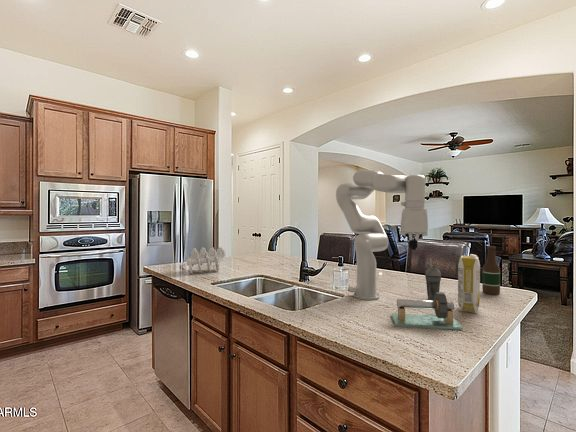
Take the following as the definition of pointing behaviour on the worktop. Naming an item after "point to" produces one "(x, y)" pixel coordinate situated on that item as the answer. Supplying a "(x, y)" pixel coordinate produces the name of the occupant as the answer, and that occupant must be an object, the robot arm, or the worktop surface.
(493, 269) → the beer bottle
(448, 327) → the teal plate with rod
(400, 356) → the worktop surface
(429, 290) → the beverage cup
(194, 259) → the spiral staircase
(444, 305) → the ring
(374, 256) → the robot arm
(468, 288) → the juice carton
